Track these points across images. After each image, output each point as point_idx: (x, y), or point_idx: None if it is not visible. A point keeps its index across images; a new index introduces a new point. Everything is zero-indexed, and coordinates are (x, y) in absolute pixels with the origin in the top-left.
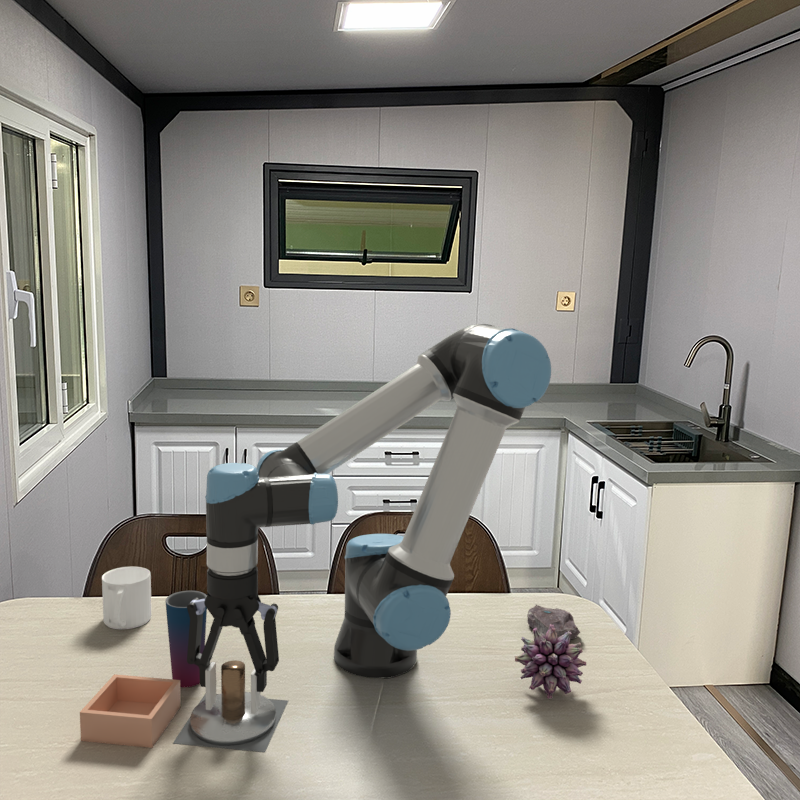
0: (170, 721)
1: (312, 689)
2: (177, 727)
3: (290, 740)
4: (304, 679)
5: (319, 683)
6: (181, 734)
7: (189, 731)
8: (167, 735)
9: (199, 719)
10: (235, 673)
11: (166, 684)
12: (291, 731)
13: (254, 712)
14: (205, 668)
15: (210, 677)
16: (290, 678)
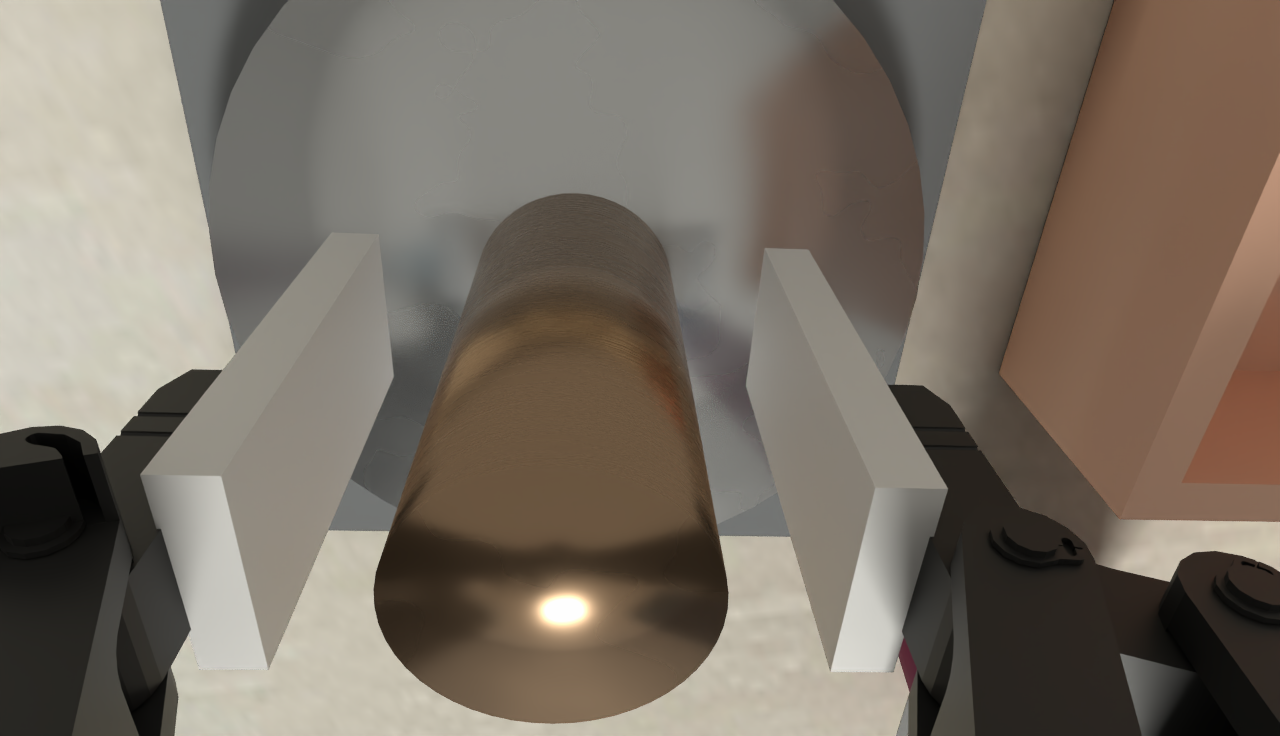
0: (1064, 198)
1: (192, 653)
2: (995, 153)
3: (26, 77)
4: (289, 725)
5: (180, 705)
6: (955, 23)
7: (894, 75)
8: (1064, 33)
9: (839, 175)
10: (463, 466)
11: (1227, 466)
12: (86, 202)
13: (337, 237)
14: (951, 537)
15: (842, 434)
16: (377, 724)
